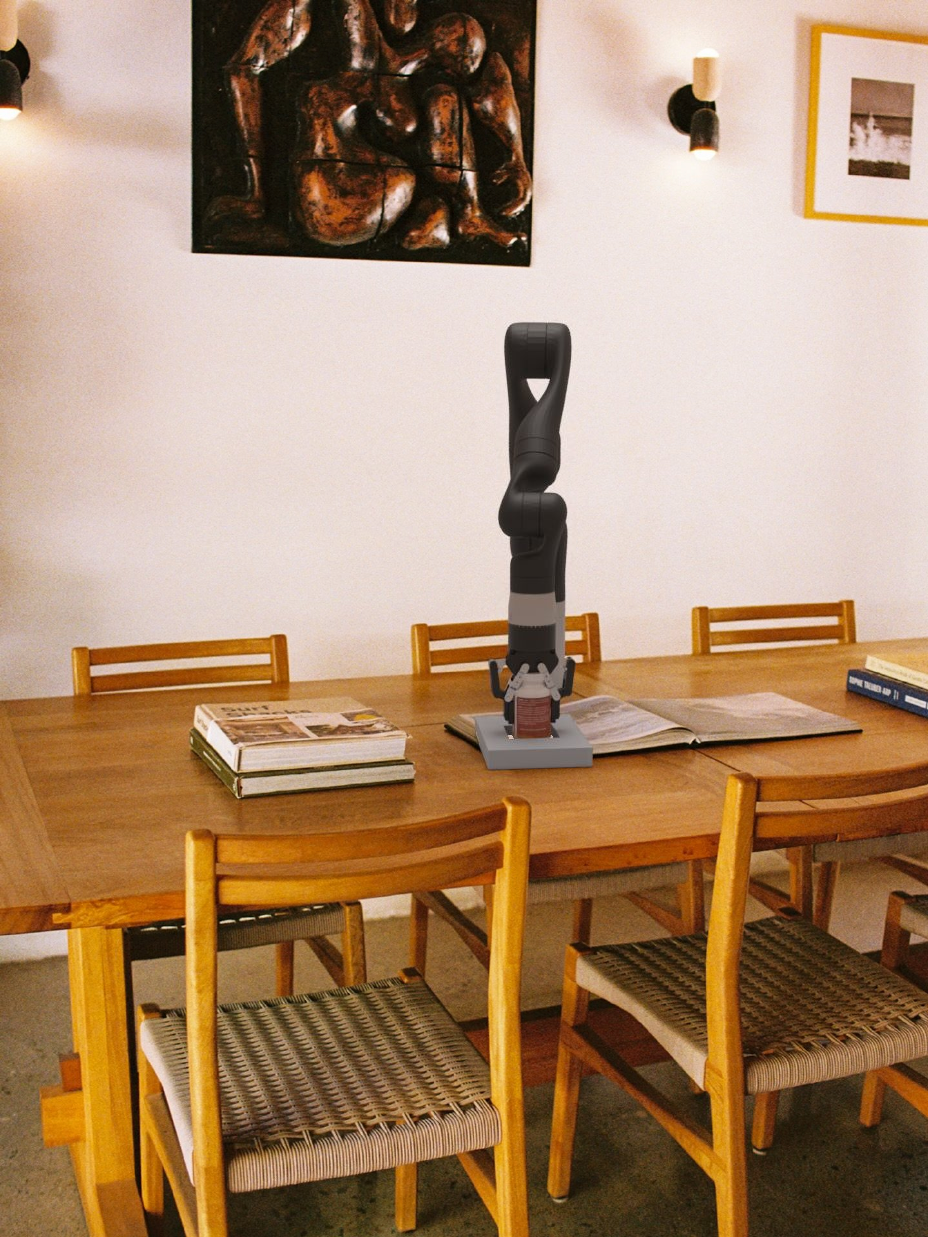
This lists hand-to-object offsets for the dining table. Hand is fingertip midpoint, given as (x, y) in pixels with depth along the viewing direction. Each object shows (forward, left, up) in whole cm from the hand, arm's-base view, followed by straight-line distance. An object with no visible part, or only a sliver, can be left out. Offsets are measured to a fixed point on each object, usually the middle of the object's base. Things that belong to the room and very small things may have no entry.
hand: (531, 722), depth 200 cm
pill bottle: (0, 0, -3) cm, 3 cm away
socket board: (0, 0, -5) cm, 5 cm away
